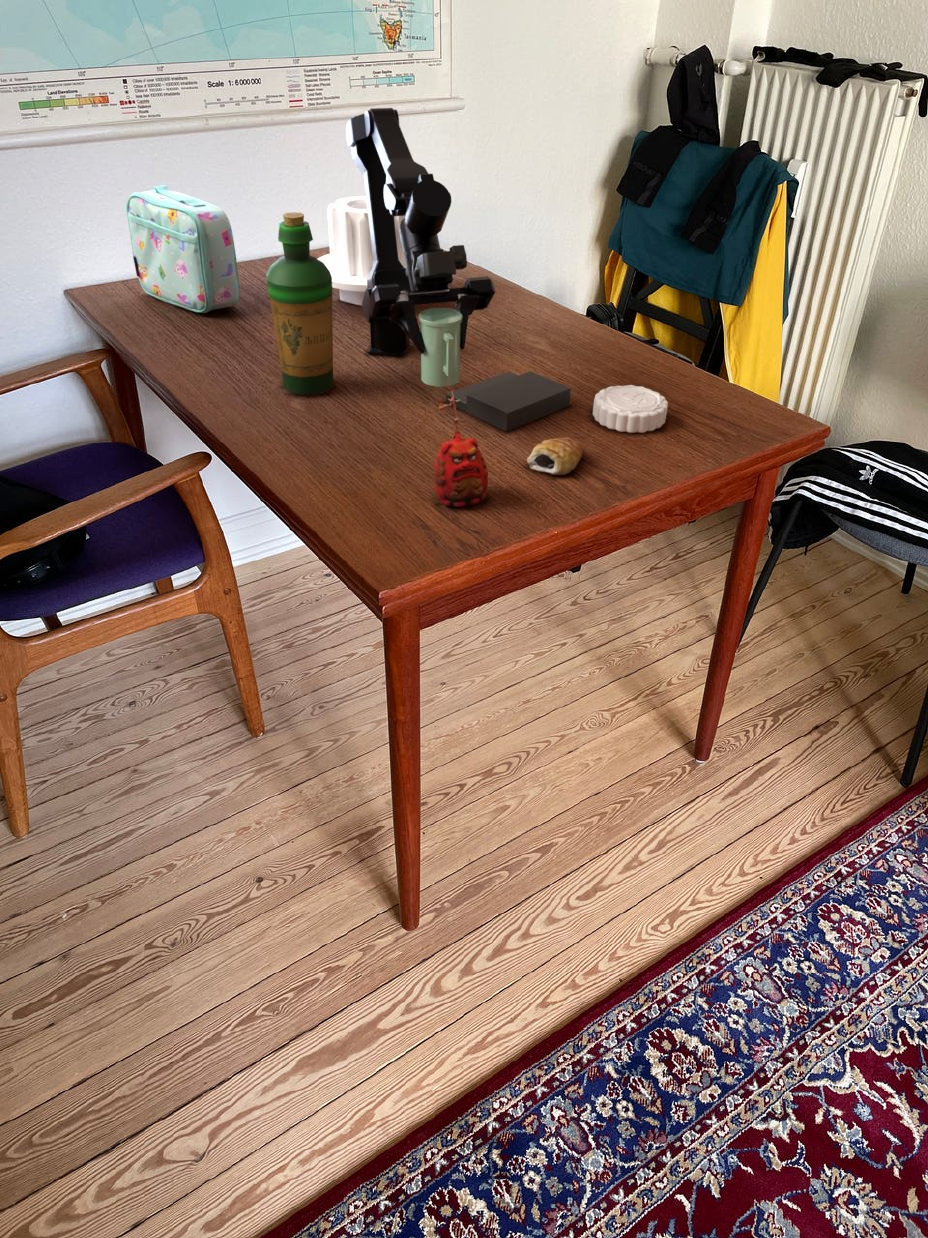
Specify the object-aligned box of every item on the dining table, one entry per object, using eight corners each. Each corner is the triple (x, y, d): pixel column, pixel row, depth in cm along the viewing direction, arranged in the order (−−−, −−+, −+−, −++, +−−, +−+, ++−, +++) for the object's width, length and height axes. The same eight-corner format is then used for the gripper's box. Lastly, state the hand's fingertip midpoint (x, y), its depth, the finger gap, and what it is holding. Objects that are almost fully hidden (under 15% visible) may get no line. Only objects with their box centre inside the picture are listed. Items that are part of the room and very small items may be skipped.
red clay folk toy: (445, 514, 124) (446, 413, 115) (425, 491, 129) (424, 391, 120) (495, 503, 127) (499, 403, 117) (473, 480, 132) (476, 382, 122)
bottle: (289, 404, 151) (270, 227, 134) (269, 380, 158) (249, 210, 141) (349, 393, 155) (338, 219, 138) (326, 370, 162) (314, 203, 145)
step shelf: (446, 402, 153) (446, 384, 151) (508, 379, 161) (509, 362, 159) (506, 431, 144) (507, 413, 142) (569, 406, 153) (571, 388, 151)
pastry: (555, 445, 141) (557, 422, 139) (593, 457, 138) (596, 434, 136) (523, 468, 135) (525, 444, 133) (562, 481, 132) (565, 458, 130)
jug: (414, 373, 143) (413, 309, 137) (453, 368, 144) (454, 306, 138) (429, 395, 136) (429, 329, 130) (470, 390, 138) (472, 325, 132)
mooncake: (680, 423, 148) (684, 402, 146) (624, 440, 143) (627, 419, 141) (632, 396, 156) (635, 376, 154) (577, 411, 151) (579, 391, 149)
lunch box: (130, 292, 194) (108, 183, 180) (171, 281, 200) (152, 175, 187) (207, 323, 180) (189, 208, 167) (248, 310, 186) (234, 198, 173)
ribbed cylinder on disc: (453, 294, 197) (454, 200, 185) (384, 327, 180) (381, 227, 168) (361, 273, 207) (357, 183, 196) (288, 303, 190) (279, 206, 179)
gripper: (369, 228, 128) (391, 332, 127) (494, 220, 133) (515, 321, 132) (360, 268, 139) (379, 365, 138) (475, 260, 144) (495, 353, 142)
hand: (442, 350), depth 137 cm, fingers closed on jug, 6 cm apart
